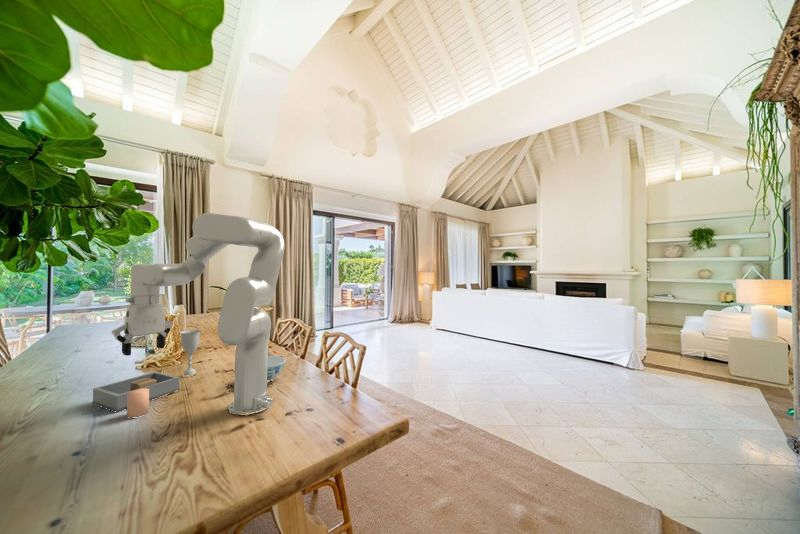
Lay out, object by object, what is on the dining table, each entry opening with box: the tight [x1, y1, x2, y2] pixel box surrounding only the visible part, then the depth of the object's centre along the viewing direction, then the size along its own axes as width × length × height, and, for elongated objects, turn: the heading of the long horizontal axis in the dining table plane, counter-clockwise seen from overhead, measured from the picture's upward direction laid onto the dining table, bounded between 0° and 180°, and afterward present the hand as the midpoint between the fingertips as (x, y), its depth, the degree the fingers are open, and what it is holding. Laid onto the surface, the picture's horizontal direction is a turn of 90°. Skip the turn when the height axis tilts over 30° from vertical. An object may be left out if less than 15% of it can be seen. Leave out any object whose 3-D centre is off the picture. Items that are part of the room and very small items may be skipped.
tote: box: [92, 371, 180, 413], centre depth 105 cm, size 14×18×5 cm
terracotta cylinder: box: [126, 388, 150, 418], centre depth 93 cm, size 5×5×7 cm
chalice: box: [179, 329, 202, 376], centre depth 126 cm, size 7×7×18 cm
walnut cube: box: [130, 378, 157, 391], centre depth 104 cm, size 5×5×5 cm
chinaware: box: [267, 355, 286, 380], centre depth 122 cm, size 15×15×8 cm
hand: (144, 351), depth 103 cm, fingers open, 9 cm apart
